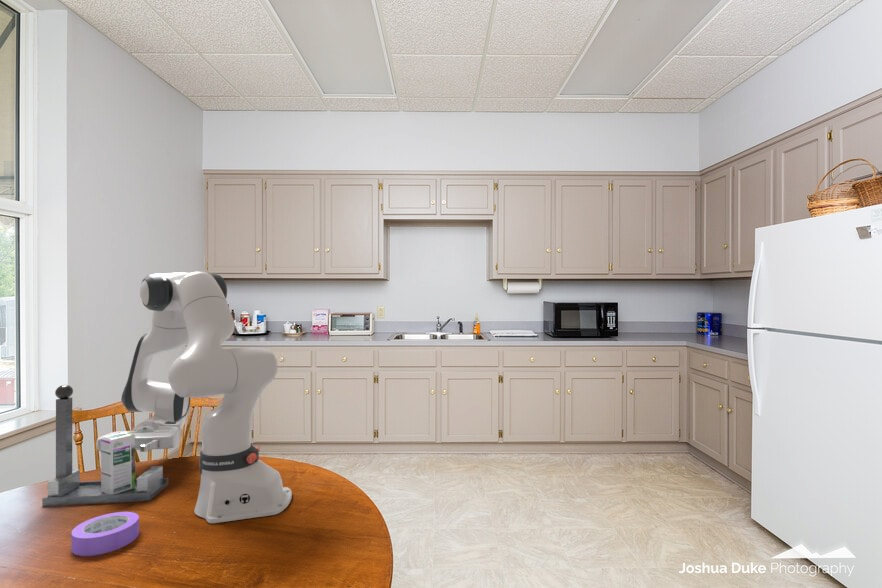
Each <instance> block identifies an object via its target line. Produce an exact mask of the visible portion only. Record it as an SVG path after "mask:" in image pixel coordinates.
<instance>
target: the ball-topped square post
mask: <svg viewBox="0 0 882 588" xmlns="http://www.w3.org/2000/svg"><path fill="white" fill-rule="evenodd" d="M54 392H55V393H54V394H55V396H56V398H57V399H55V477H54V478H52V479H50V480H48V481H47V497H62V496H64V495H65V494H67V493H69V492H70V491H72V490H73V489H75V488H77V487H78V486H80V482H81V481H80V476H81V475H80V471H81V470H80V469H79V468H78V469H73V397H71V396H72V395H73V394H74V393H73V392H74V389H73V387H72V386H71V385H68V384H63V385H62V384H61V385H60V386H59V387H57V388H56V389H55V391H54Z"/></svg>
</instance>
